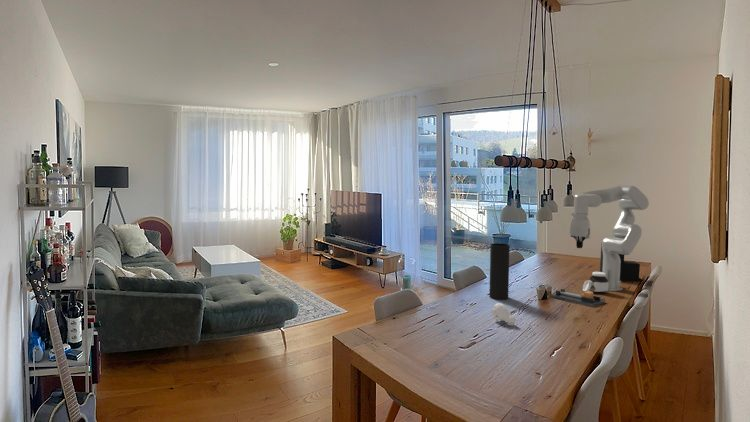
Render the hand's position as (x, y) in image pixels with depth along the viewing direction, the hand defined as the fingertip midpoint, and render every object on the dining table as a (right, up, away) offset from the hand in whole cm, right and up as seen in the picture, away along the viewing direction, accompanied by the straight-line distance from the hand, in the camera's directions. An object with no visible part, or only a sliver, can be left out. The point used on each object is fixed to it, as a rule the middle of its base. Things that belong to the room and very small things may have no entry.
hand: (579, 247), depth 261 cm
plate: (-6, -28, -10) cm, 30 cm away
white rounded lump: (-57, -31, -49) cm, 82 cm away
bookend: (+46, -24, +41) cm, 66 cm away
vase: (-48, -28, -5) cm, 56 cm away
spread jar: (+12, -27, +7) cm, 30 cm away
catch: (-3, -27, -14) cm, 30 cm away
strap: (-8, -26, -8) cm, 28 cm away
